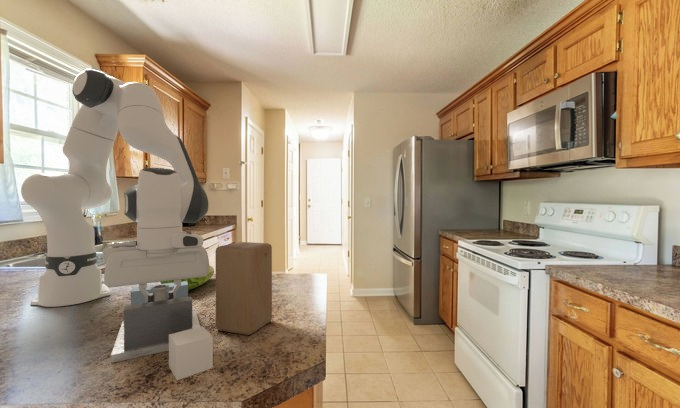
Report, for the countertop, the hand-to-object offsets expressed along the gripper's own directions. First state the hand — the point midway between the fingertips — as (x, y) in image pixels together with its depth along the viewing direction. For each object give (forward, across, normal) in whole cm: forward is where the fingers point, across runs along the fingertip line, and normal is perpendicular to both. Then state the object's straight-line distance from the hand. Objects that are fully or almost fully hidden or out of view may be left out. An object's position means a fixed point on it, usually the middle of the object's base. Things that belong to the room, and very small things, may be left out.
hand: (160, 300), depth 69 cm
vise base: (+8, 0, 0) cm, 8 cm away
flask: (+7, 0, 0) cm, 7 cm away
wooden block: (+8, +18, -3) cm, 20 cm away
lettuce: (+8, +10, +42) cm, 44 cm away
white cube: (+8, +5, -17) cm, 20 cm away
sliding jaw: (+6, 0, +8) cm, 11 cm away
